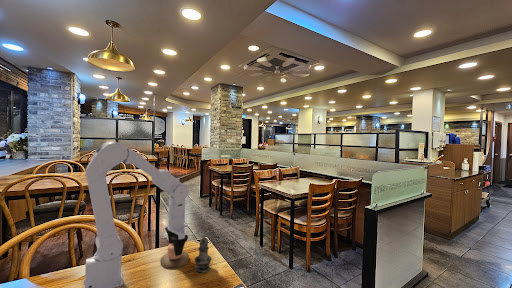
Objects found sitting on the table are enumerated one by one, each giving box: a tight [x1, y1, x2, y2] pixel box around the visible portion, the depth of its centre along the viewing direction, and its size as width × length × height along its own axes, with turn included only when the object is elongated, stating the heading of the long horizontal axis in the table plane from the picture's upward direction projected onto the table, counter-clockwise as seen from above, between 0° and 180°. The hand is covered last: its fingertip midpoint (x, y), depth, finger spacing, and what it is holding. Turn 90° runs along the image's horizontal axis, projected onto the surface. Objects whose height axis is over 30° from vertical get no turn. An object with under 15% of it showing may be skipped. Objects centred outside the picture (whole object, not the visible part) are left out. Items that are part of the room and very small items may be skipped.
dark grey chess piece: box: [194, 235, 212, 274], centre depth 78 cm, size 6×6×12 cm
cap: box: [166, 243, 184, 259], centre depth 82 cm, size 5×5×4 cm
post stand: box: [159, 251, 190, 270], centre depth 82 cm, size 10×10×5 cm
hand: (175, 250), depth 82 cm, fingers open, 7 cm apart
